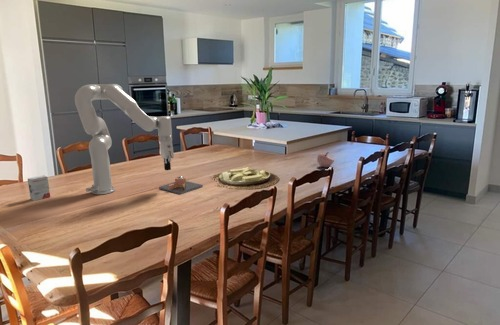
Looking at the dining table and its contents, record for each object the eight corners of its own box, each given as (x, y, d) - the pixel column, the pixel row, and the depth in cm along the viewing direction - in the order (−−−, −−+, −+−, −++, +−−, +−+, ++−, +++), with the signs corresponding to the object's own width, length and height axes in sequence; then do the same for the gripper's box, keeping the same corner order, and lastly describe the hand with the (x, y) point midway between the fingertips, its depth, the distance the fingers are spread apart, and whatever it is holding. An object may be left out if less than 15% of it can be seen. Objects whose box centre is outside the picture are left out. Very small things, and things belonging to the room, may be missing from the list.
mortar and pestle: (335, 169, 261) (335, 153, 259) (318, 169, 262) (318, 153, 259) (331, 165, 273) (332, 150, 270) (315, 165, 273) (316, 150, 271)
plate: (291, 176, 244) (291, 166, 242) (257, 197, 207) (257, 185, 205) (233, 168, 266) (233, 159, 265) (194, 185, 229) (194, 175, 227)
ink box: (46, 195, 205) (44, 174, 202) (50, 197, 202) (48, 176, 199) (30, 199, 199) (27, 178, 196) (33, 201, 196) (30, 179, 193)
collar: (172, 190, 209) (172, 181, 208) (165, 188, 213) (165, 180, 211) (188, 185, 219) (187, 177, 217) (180, 183, 222) (180, 175, 221)
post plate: (180, 194, 206) (179, 182, 204) (159, 188, 216) (158, 177, 215) (202, 186, 220) (202, 175, 219) (181, 181, 230) (181, 171, 229)
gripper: (176, 139, 205) (178, 171, 209) (167, 136, 217) (169, 166, 221) (163, 140, 201) (165, 173, 205) (154, 137, 213) (157, 168, 218)
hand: (167, 169), depth 213 cm, fingers closed
